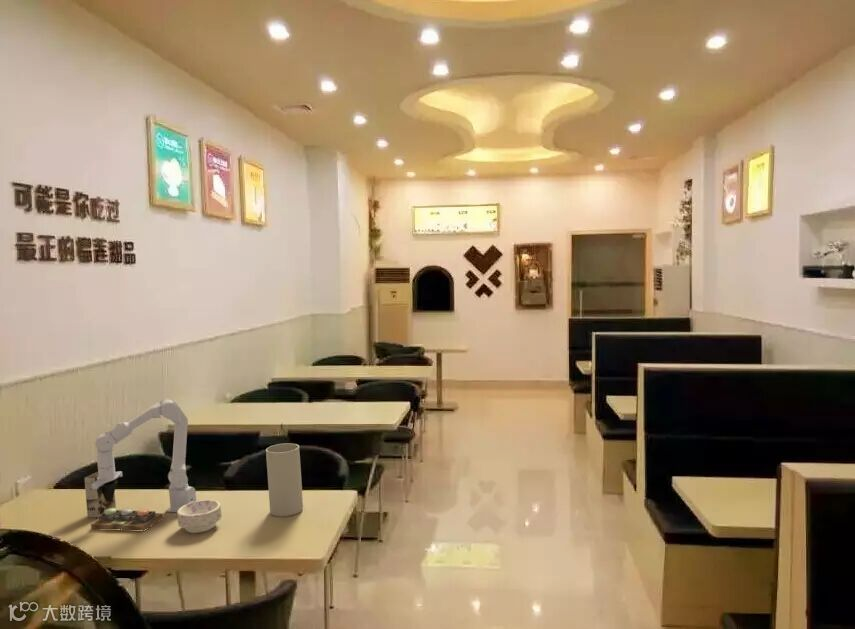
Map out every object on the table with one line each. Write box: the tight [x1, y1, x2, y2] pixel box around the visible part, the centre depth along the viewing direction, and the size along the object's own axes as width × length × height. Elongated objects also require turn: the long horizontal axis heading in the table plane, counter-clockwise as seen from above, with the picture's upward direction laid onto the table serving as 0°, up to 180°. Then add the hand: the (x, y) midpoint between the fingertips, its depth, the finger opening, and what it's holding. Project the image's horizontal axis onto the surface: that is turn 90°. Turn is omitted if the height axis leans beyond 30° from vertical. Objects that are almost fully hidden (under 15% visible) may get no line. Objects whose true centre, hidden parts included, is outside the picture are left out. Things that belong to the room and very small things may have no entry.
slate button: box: [121, 508, 134, 516], centre depth 246 cm, size 4×4×2 cm
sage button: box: [104, 508, 117, 516], centre depth 247 cm, size 4×4×2 cm
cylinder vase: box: [265, 442, 304, 518], centre depth 250 cm, size 12×12×25 cm
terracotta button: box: [137, 508, 150, 517], centre depth 244 cm, size 4×4×2 cm
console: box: [90, 509, 164, 532], centre depth 246 cm, size 22×12×4 cm, turn 79°
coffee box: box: [84, 471, 117, 519], centre depth 258 cm, size 9×6×16 cm
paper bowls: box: [176, 499, 223, 534], centre depth 239 cm, size 15×15×8 cm
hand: (109, 501), depth 247 cm, fingers closed
